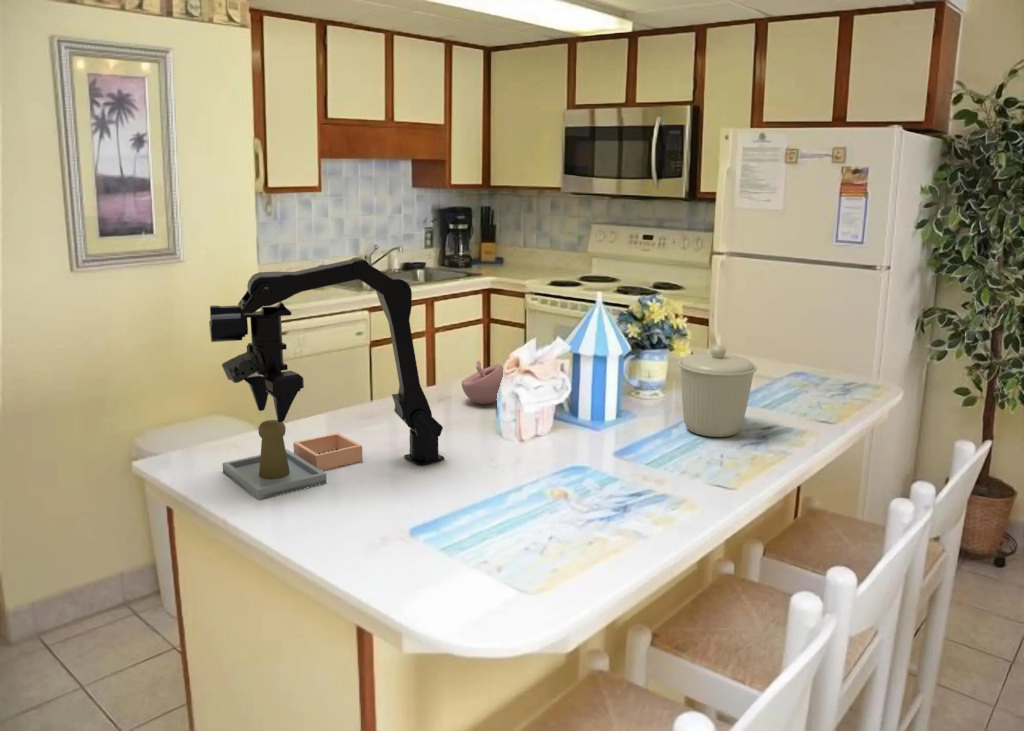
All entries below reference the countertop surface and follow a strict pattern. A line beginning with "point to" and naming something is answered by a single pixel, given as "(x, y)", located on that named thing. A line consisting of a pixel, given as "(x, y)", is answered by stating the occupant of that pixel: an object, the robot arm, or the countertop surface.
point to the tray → (249, 479)
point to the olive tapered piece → (273, 450)
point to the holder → (314, 446)
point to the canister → (715, 391)
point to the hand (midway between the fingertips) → (271, 416)
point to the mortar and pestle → (483, 384)
